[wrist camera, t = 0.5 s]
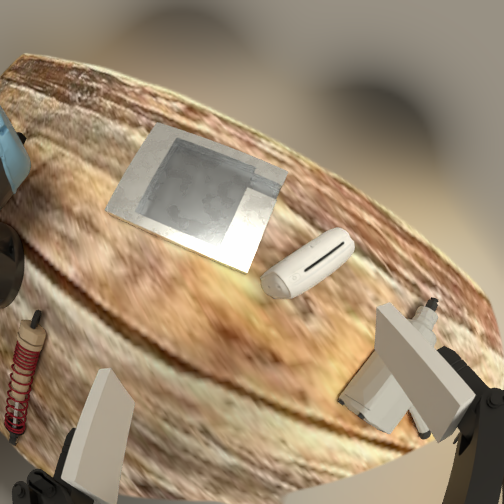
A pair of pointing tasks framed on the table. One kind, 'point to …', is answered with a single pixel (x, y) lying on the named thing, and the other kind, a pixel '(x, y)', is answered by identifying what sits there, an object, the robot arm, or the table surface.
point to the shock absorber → (23, 372)
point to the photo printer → (308, 265)
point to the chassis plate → (198, 195)
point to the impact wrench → (388, 384)
